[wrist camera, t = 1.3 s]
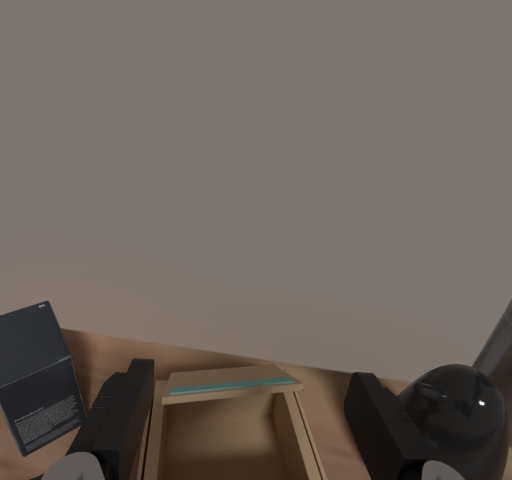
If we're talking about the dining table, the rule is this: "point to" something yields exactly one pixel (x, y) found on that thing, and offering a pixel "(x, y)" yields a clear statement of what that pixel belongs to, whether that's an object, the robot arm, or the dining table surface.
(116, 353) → the dining table surface
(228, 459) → the carton
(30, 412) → the small box
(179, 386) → the flap
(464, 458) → the black egg-shaped piece
